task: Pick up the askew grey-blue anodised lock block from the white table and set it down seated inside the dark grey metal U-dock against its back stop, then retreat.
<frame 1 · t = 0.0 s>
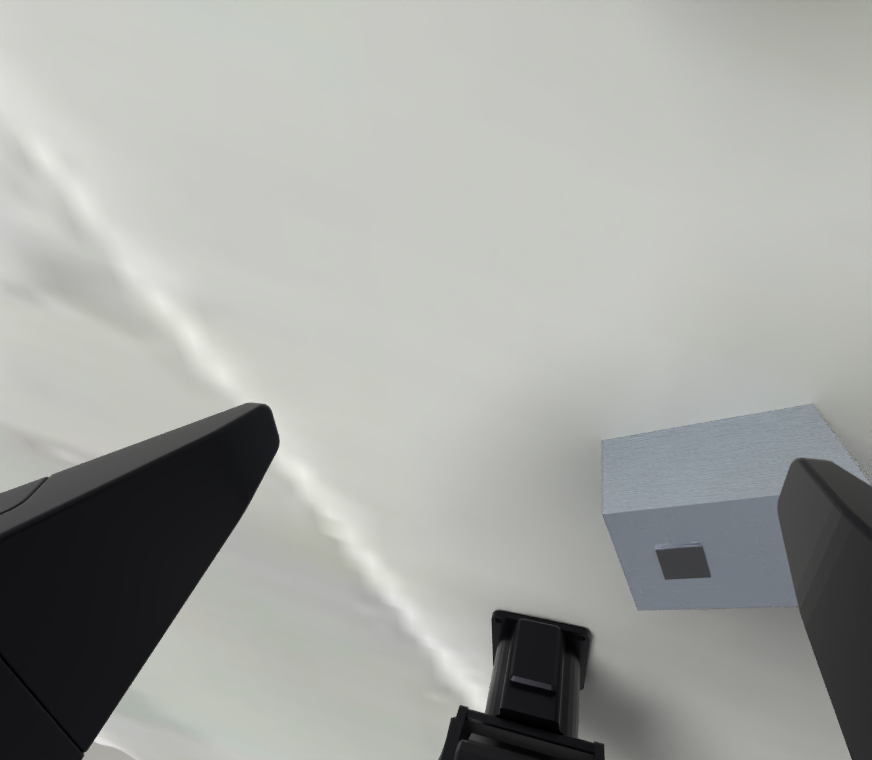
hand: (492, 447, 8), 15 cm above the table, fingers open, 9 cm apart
lock block: (710, 470, 24), on the table
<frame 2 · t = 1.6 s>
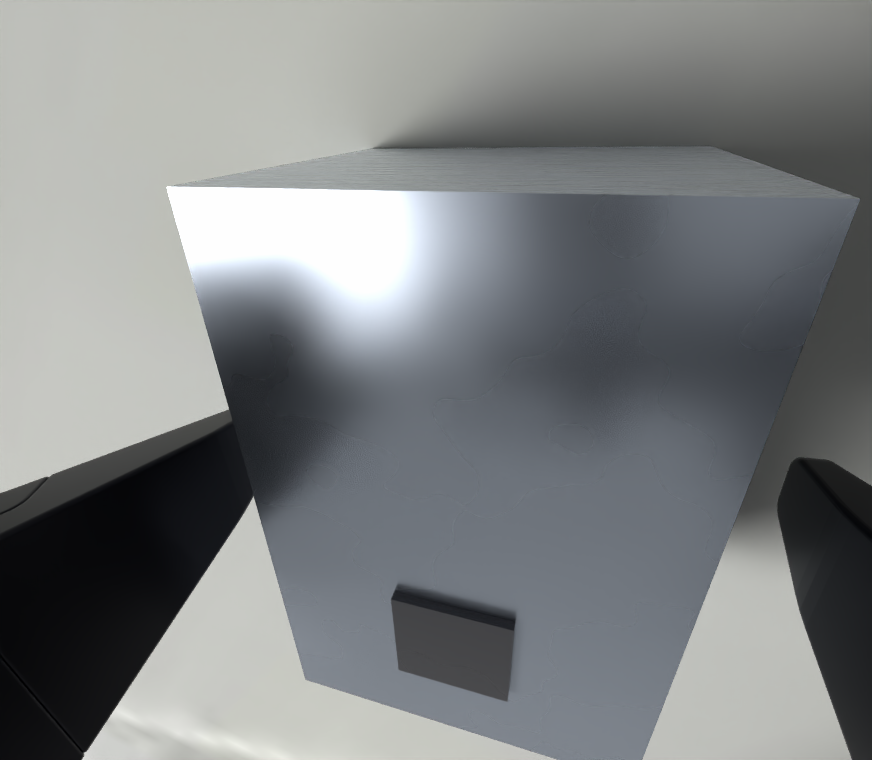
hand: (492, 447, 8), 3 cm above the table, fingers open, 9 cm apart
lock block: (513, 365, 11), on the table
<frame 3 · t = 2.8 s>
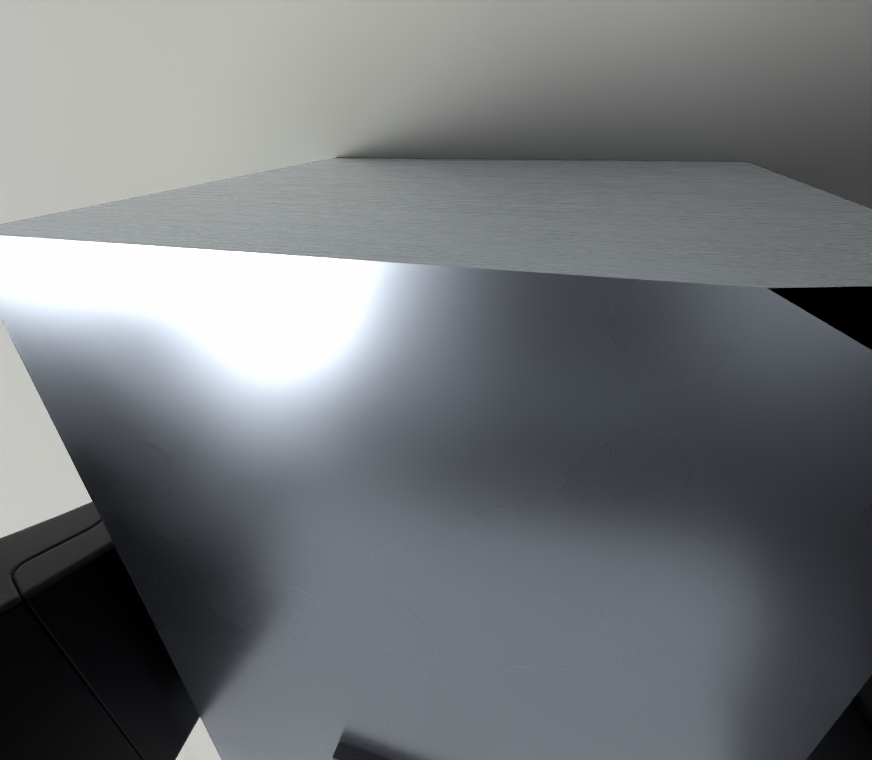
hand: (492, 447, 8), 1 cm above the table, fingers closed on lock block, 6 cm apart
lock block: (502, 414, 9), on the table, touching gripper
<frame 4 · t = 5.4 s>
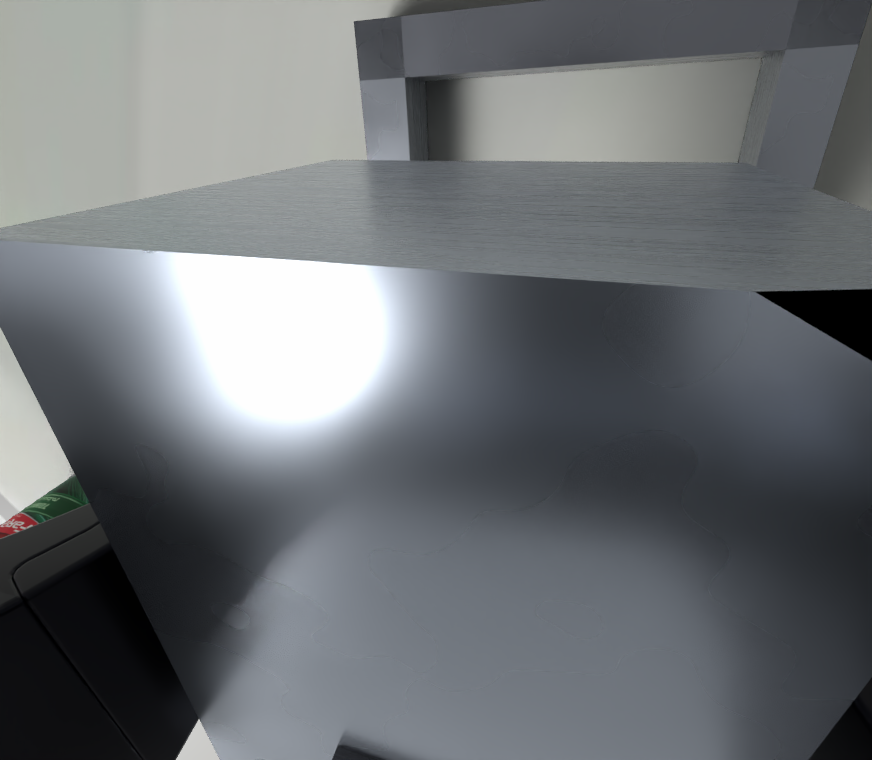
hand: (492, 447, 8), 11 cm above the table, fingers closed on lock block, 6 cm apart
canned tomato: (115, 511, 36), on the table
lock block: (501, 415, 9), point 10 cm above the table, touching gripper
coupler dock: (564, 235, 17), on the table
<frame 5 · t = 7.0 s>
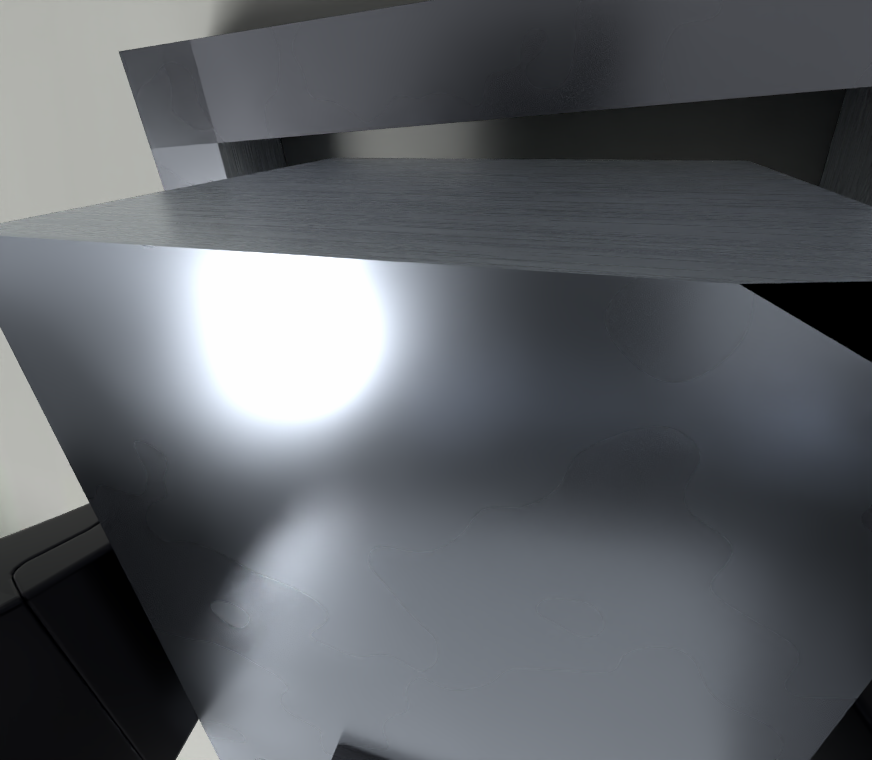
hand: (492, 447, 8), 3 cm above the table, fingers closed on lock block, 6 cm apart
lock block: (502, 414, 9), point 2 cm above the table, touching gripper
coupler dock: (516, 361, 11), on the table
when the fingers open (3 cm above the table, at t = 8.2 s): lock block drops 2 cm, on the table.
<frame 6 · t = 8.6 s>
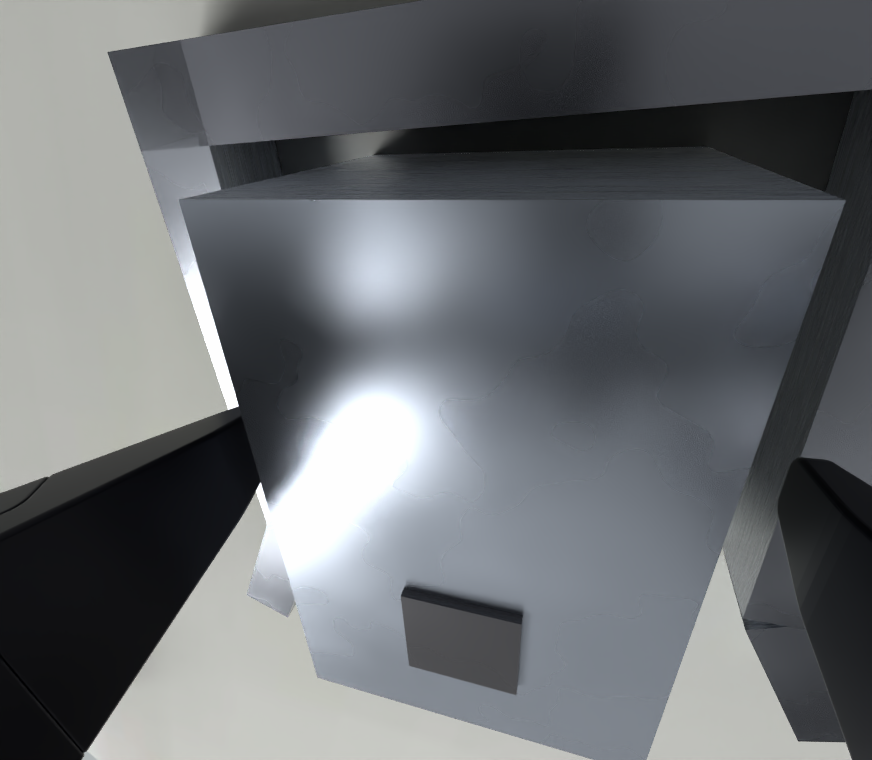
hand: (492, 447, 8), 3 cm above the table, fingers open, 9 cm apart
lock block: (516, 365, 11), on the table
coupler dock: (515, 367, 11), on the table
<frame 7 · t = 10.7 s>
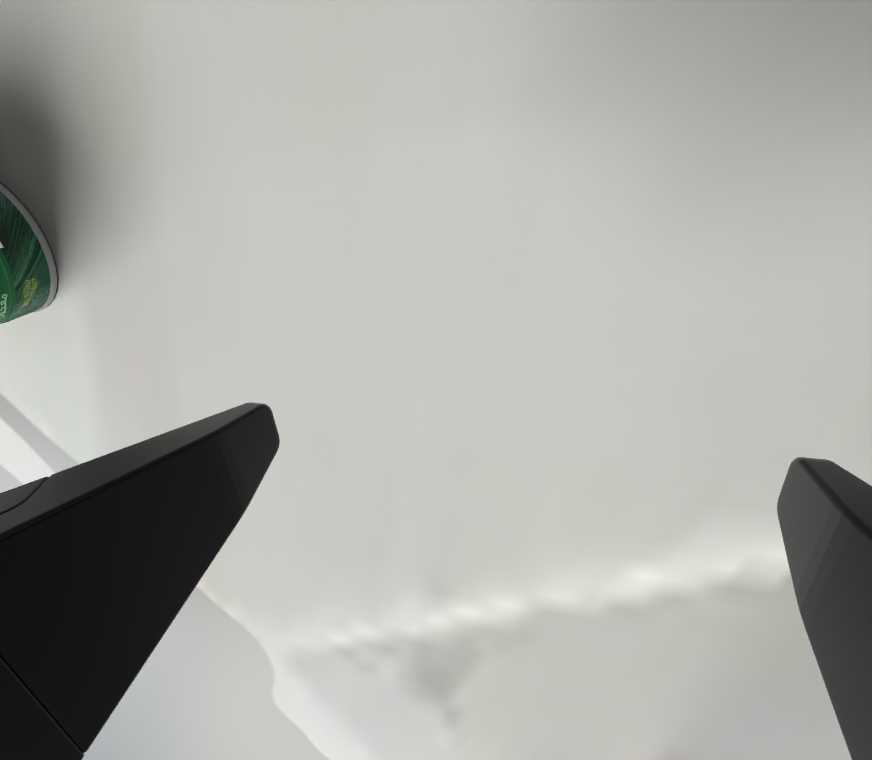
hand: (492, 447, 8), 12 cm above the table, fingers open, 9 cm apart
canned tomato: (0, 241, 26), on the table
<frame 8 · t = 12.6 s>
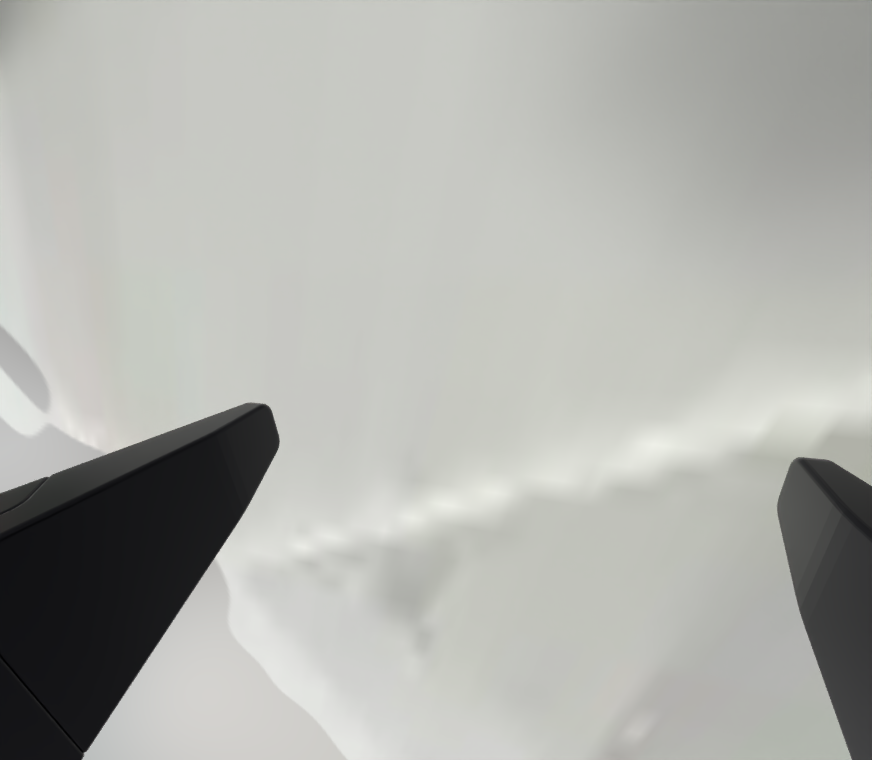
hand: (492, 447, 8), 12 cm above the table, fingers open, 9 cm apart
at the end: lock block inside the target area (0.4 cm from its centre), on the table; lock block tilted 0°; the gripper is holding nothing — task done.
